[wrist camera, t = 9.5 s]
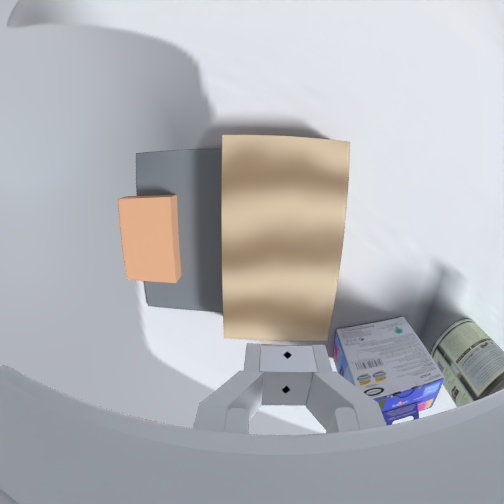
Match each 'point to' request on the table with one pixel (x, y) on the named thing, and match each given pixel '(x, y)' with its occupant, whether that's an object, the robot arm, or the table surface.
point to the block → (150, 237)
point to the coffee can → (469, 362)
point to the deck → (282, 235)
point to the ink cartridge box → (389, 367)
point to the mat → (189, 224)
